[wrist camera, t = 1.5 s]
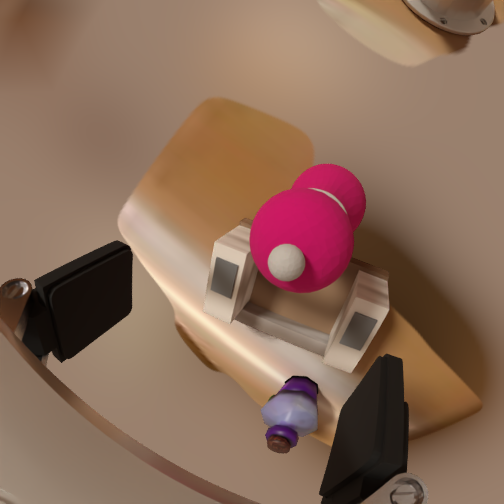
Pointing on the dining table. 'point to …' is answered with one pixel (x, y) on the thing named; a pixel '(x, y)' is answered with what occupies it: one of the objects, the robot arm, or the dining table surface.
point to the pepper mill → (308, 229)
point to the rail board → (298, 303)
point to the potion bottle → (291, 413)
